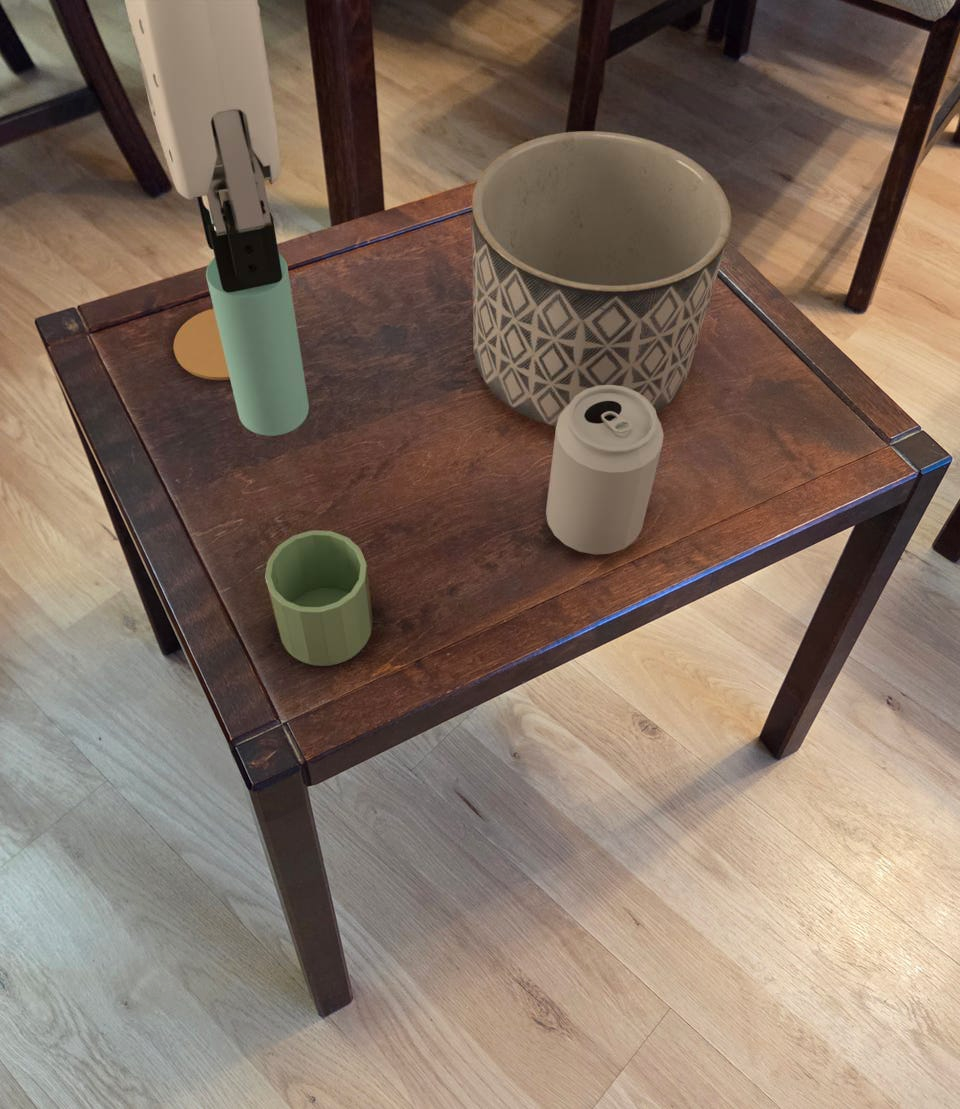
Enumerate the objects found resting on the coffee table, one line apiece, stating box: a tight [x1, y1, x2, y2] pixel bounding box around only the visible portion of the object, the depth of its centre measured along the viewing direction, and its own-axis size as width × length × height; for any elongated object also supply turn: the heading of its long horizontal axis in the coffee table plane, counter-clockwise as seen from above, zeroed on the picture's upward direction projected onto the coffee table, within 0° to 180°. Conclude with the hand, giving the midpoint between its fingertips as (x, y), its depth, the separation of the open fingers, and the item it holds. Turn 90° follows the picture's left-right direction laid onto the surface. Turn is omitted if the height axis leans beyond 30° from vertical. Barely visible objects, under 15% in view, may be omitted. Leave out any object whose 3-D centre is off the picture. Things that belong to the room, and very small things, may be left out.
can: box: [545, 385, 665, 555], centre depth 77 cm, size 8×8×12 cm
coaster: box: [173, 308, 230, 381], centre depth 92 cm, size 9×9×1 cm
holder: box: [264, 529, 373, 667], centre depth 73 cm, size 7×7×7 cm
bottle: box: [202, 165, 310, 437], centre depth 59 cm, size 4×4×17 cm
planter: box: [471, 130, 732, 428], centre depth 85 cm, size 19×19×16 cm
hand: (244, 260), depth 57 cm, fingers closed on bottle, 3 cm apart
